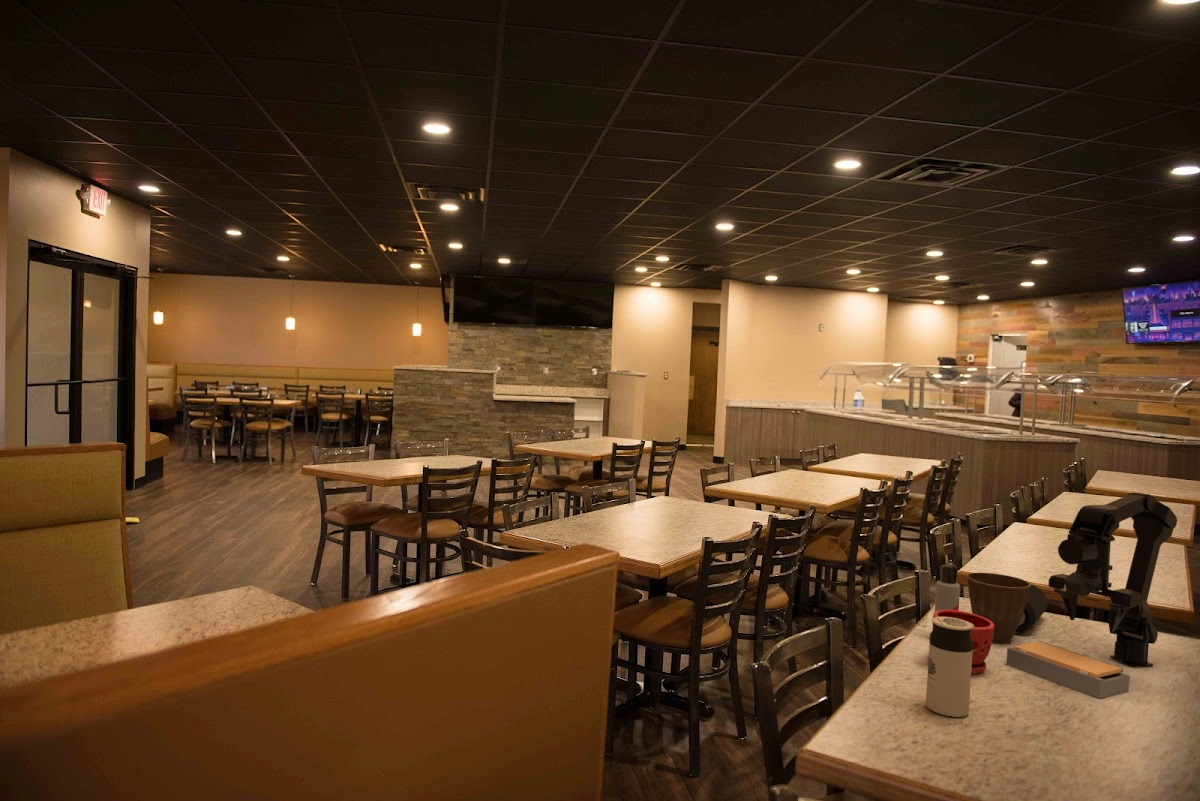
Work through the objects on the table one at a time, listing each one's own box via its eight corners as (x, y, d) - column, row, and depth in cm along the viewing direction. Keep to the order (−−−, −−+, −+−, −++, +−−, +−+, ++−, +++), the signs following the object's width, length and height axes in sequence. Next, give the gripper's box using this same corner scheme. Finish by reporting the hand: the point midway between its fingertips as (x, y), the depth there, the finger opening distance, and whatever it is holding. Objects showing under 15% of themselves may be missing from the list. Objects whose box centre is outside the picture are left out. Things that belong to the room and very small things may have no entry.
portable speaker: (1010, 612, 235) (1012, 579, 235) (1047, 619, 229) (1049, 585, 228) (991, 630, 215) (994, 594, 214) (1032, 639, 209) (1034, 602, 208)
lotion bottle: (959, 645, 200) (963, 568, 199) (935, 642, 201) (940, 565, 201) (953, 638, 206) (958, 563, 205) (930, 636, 207) (935, 561, 206)
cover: (1040, 644, 191) (1041, 640, 191) (1123, 672, 174) (1123, 667, 174) (1014, 650, 186) (1014, 645, 186) (1096, 678, 169) (1096, 673, 169)
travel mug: (966, 706, 160) (971, 619, 160) (970, 721, 153) (976, 630, 152) (924, 699, 163) (929, 613, 163) (927, 714, 155) (932, 624, 155)
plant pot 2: (1038, 650, 199) (1042, 588, 199) (979, 647, 199) (983, 585, 199) (1008, 631, 214) (1012, 574, 213) (954, 629, 214) (957, 571, 214)
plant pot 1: (930, 671, 180) (933, 620, 179) (929, 654, 192) (932, 606, 192) (993, 682, 175) (997, 629, 175) (988, 664, 187) (991, 614, 187)
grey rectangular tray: (1034, 658, 192) (1036, 640, 192) (1128, 691, 173) (1129, 670, 173) (1006, 664, 187) (1007, 645, 187) (1099, 698, 168) (1101, 677, 168)
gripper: (1036, 554, 188) (1032, 618, 189) (1117, 573, 172) (1114, 643, 172) (1063, 550, 194) (1060, 612, 194) (1145, 568, 177) (1141, 636, 178)
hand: (1091, 625), depth 184 cm, fingers open, 9 cm apart
